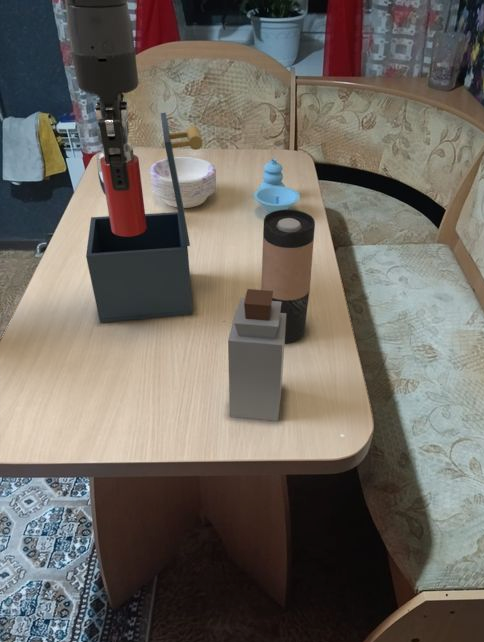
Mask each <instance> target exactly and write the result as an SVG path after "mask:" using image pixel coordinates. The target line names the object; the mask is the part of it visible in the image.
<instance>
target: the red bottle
mask: <svg viewBox="0 0 484 642" xmlns="http://www.w3.org/2000/svg"><path fill="white" fill-rule="evenodd" d="M125 150H126V157H127V159H128V161H127V171H128V178H129V189H128V190H123V191H115V190H114V189H113V185H112V179H111V172H110V166H109V164H106V162H105V154H104V148H102V152H103V154H104V157H102V158H101V159H100V163H101V170H102V176H103V182H104V188H105V194H106V199H105V201H106V200H107V202H106V206H107V210H108V211H107V213H108V216H109V218H110V224H111V230H112V232H113V233H114V234H116V235H118V236H124V237H130V236H136V235H139V234H142V233H143V232H144V231H145V230H146V229H147V226H146V217H145V214H146V210H145V201H144V193H143V184H142V177H141V167H140V159H139V157H138V156H137V155H136V154H134V147H133V145H130V144H129V143H128V144H126V145H125ZM110 151H111V154H120V149H119V148H110Z"/></svg>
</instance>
